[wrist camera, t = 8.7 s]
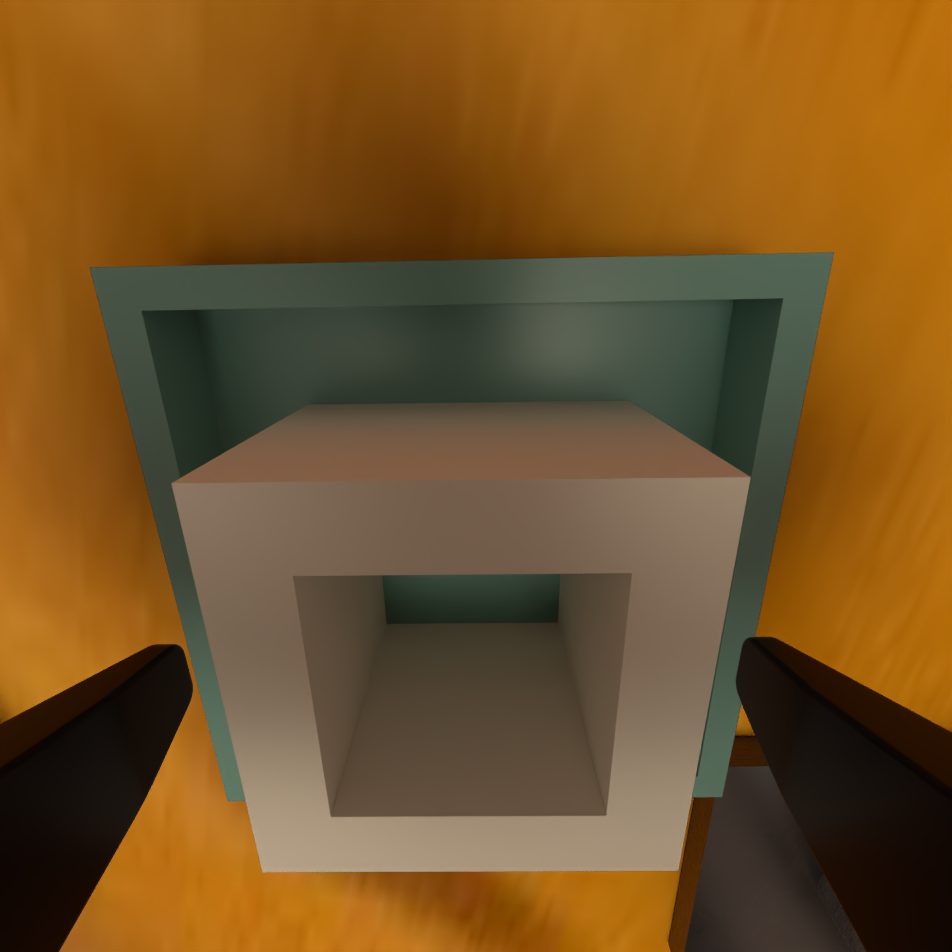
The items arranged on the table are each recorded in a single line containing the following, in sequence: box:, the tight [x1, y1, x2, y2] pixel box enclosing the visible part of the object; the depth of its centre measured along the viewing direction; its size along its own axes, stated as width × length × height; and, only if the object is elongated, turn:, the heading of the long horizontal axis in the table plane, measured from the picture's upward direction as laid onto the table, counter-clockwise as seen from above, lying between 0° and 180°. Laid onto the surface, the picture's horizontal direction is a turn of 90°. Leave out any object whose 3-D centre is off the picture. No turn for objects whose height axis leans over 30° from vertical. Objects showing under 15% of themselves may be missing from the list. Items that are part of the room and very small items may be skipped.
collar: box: [171, 401, 751, 872], centre depth 9 cm, size 7×7×5 cm
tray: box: [90, 252, 834, 801], centre depth 11 cm, size 12×12×2 cm
